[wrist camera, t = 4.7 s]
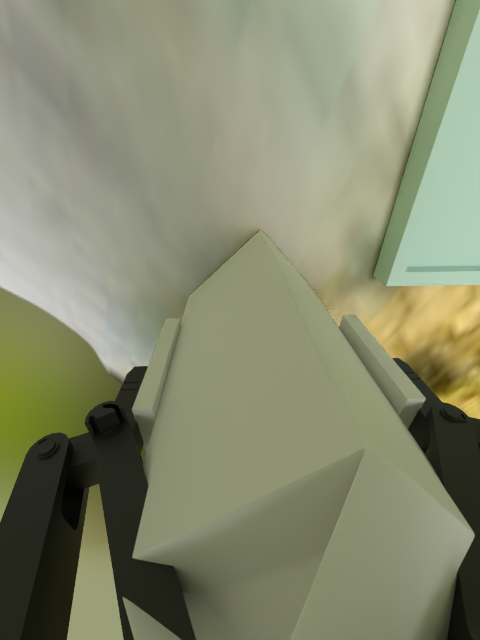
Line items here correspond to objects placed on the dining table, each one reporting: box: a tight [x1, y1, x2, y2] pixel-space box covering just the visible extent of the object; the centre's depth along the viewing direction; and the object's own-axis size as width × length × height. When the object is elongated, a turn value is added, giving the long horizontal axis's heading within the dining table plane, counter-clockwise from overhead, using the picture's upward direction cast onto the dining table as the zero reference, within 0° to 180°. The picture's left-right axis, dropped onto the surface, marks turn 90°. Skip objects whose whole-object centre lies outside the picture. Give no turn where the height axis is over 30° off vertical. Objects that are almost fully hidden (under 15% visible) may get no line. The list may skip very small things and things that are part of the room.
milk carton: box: [123, 230, 475, 640], centre depth 11 cm, size 7×7×19 cm
